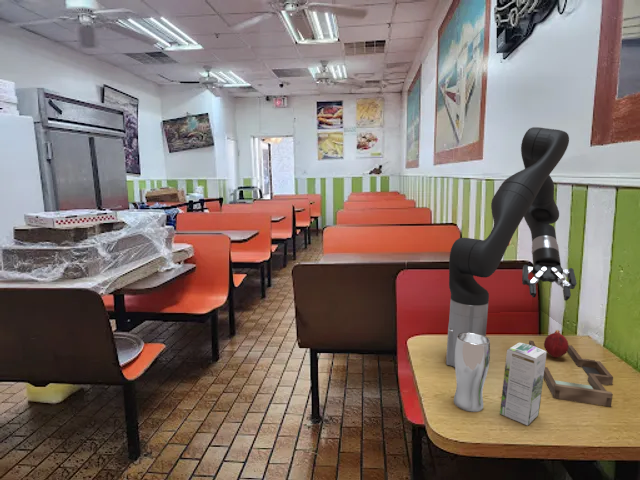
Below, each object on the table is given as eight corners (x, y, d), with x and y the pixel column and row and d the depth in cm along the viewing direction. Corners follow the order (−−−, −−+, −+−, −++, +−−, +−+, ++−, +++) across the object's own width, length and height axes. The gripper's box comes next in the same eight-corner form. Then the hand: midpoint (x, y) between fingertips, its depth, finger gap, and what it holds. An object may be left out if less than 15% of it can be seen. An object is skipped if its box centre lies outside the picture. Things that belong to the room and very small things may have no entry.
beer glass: (447, 395, 91) (452, 331, 89) (478, 396, 91) (484, 332, 89) (456, 412, 85) (461, 344, 82) (490, 413, 84) (496, 345, 82)
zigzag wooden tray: (534, 395, 92) (535, 382, 92) (513, 344, 121) (514, 335, 120) (632, 410, 87) (634, 397, 86) (587, 354, 115) (588, 344, 115)
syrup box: (511, 404, 88) (517, 340, 86) (540, 416, 84) (547, 349, 82) (499, 414, 84) (505, 348, 82) (529, 427, 80) (536, 357, 78)
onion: (570, 363, 109) (573, 335, 108) (547, 361, 110) (550, 333, 109) (562, 354, 114) (565, 327, 113) (540, 352, 116) (542, 325, 114)
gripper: (523, 244, 129) (526, 288, 120) (574, 247, 125) (581, 293, 115) (518, 258, 135) (521, 301, 125) (567, 261, 130) (574, 306, 121)
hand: (550, 297), depth 120 cm, fingers open, 8 cm apart
